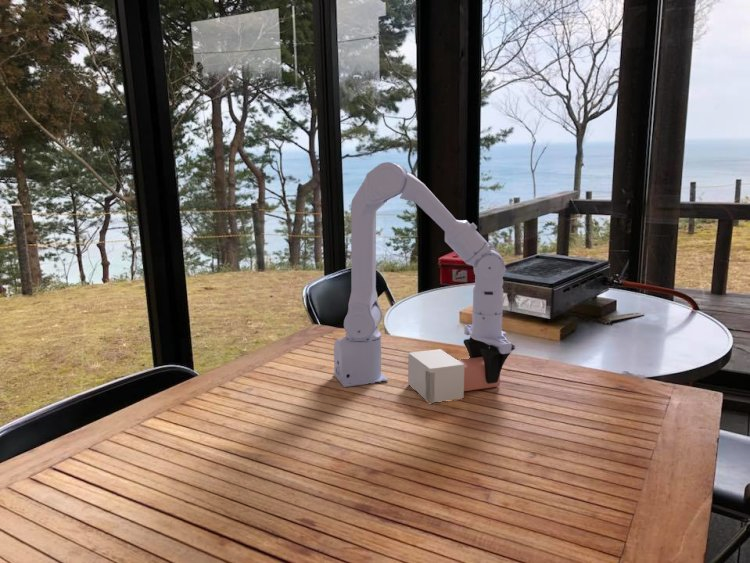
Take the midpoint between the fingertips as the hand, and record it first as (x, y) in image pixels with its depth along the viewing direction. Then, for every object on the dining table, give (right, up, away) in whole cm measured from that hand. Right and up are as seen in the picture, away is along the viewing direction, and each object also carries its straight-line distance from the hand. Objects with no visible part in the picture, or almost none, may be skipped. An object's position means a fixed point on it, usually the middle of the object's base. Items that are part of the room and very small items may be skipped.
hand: (485, 378), depth 110 cm
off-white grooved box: (-10, -2, -3) cm, 11 cm away
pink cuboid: (-3, -2, -1) cm, 4 cm away
